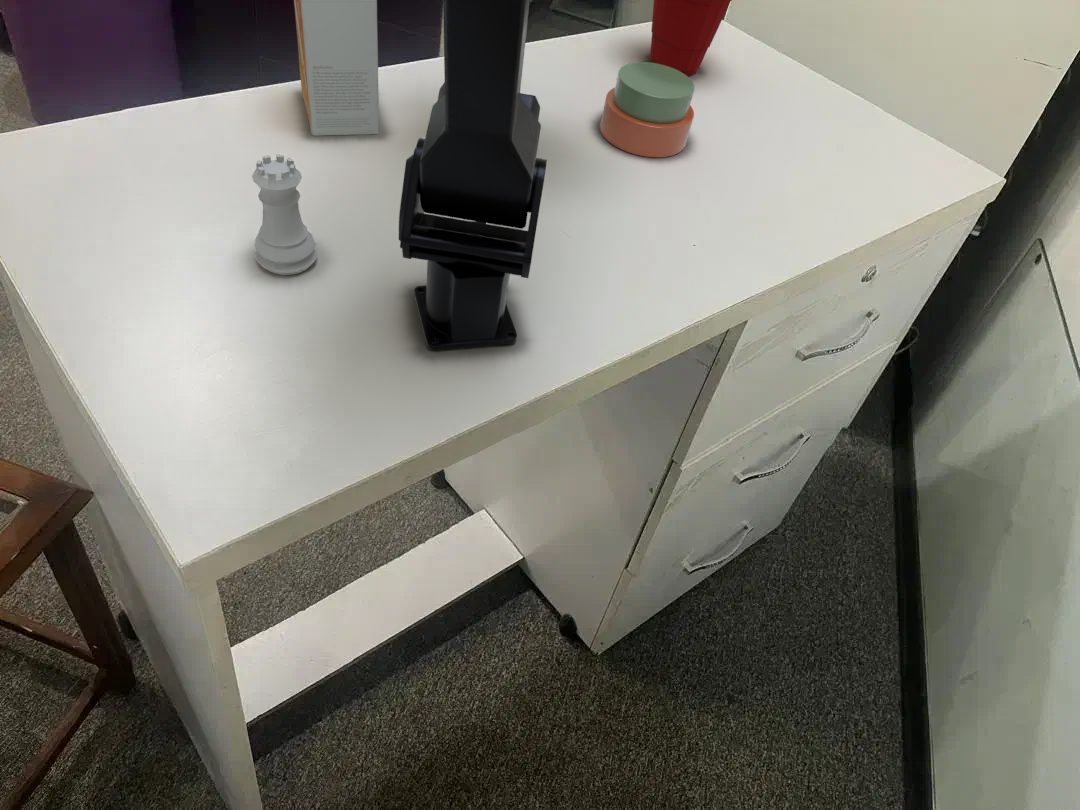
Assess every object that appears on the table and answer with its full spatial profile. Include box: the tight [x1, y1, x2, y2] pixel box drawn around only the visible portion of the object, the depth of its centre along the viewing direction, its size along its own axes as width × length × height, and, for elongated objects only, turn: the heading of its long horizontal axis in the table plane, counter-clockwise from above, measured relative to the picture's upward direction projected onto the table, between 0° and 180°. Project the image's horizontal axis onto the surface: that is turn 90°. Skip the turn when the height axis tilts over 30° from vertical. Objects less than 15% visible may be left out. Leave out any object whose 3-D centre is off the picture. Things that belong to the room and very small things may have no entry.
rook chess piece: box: [251, 153, 318, 276], centre depth 56 cm, size 4×4×8 cm
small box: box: [293, 0, 380, 136], centre depth 70 cm, size 8×6×13 cm
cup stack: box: [599, 61, 696, 158], centre depth 78 cm, size 9×9×6 cm
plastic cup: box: [649, 0, 733, 77], centre depth 89 cm, size 11×11×12 cm
